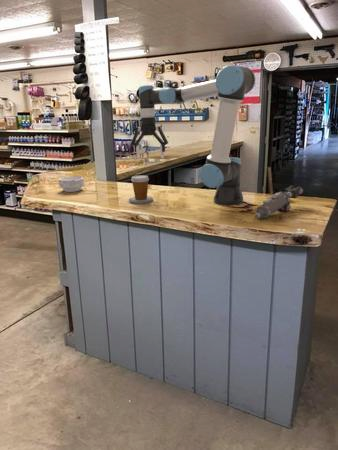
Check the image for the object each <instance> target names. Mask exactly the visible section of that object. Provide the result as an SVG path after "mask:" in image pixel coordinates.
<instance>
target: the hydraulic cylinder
mask: <svg viewBox="0 0 338 450" xmlns="http://www.w3.org/2000/svg"><path fill="white" fill-rule="evenodd" d="M303 192H304V189H303V187H302V186H297V187H296V186H294V185H289V186H288V187H286V188H284V191H279V192H276V193H274V194H273V195H270V196H269V197H268V198H266V199H265V200H264V201H262V204H260V205H259V206H258V207H257V208H256V210H255V211H256V213H255V214H254V216H253V217H254V218H255V219H261V220H262V219H263V220H265V219H267V218H268V217H270V216H271V215H273V214H275V213H276V212H277V211H281V210H282V209H283V211H284V212H289V211H290V210H291V209H292V206H291V199H297V198H298V197H299V196H301V195H302V193H303Z"/></svg>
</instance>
